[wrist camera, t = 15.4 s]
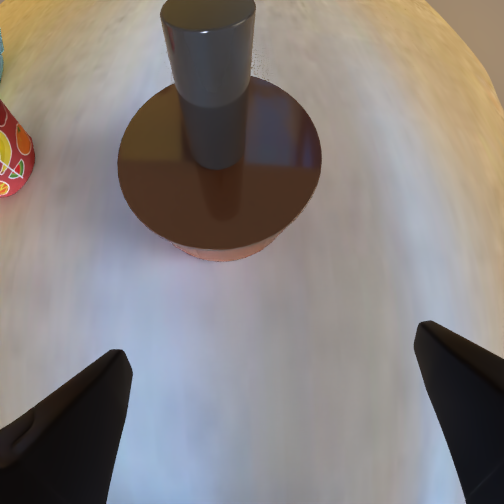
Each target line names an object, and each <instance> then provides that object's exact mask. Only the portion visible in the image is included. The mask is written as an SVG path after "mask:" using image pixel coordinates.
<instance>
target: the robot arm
mask: <svg viewBox="0 0 504 504" xmlns="http://www.w3.org/2000/svg"><path fill="white" fill-rule="evenodd" d="M414 351H415V354H416V357H417V361H418V364H419V367H420V370H421V374H422V377H423V380H424V384H425V387H426V390H427V393H428V395H429V398H430V400H431V403H432V405H433V408H434V410H435V413H436V415H437V418H438V420H439V423H440V426H441V428H442V431H443V434H444V436H445V439H446V442H447V445H448V447H449V450H450V453H451V456H452V459H453V462H454V465H455V468H456V471H457V474H458V477H459V480H460V483H461V487H462V490H463V493H464V497H465V499H466V500H465V501H466V504H504V359H502V358H501V357H499V356H497V355H495V354H493V353H491V352H490V351H488V350H486V349H484V348H482V347H480V346H479V345H477V344H475V343H473V342H471V341H469V340H467V339H466V338H464V337H462V336H460V335H458V334H456V333H454V332H452V331H451V330H449V329H447V328H445V327H443V326H441V325H439V324H437V323H435V322H434V321H431V320H430V321H424V322H421V323H419V325H418V327H417V332H416V336H415V341H414ZM132 377H133V371H132V368H131V365H130V363H129V361H128V359H127V356H126V354H125V352H124V351H123V350H121V349H112V350H109V351H108V352H107V353H105V354H104V355H103V356H101V357H100V358H99V359H97V360H96V361H95V362H93V363H92V364H90V365H89V366H88V367H86V368H85V369H84V370H82V371H81V372H80V373H78V374H77V375H76V376H74V377H73V378H72V379H70V380H69V381H68V382H66V383H65V384H64V385H62V386H61V387H60V388H58V389H57V390H55V391H54V392H53V393H51V394H50V395H49V396H47V397H46V398H45V399H43V400H42V401H41V402H39V403H38V404H37V405H35V408H34V407H33V408H31V409H30V410H29V411H27V412H26V413H25V414H23V415H22V416H20V417H19V418H18V419H16V420H15V421H13V422H12V423H10V424H9V425H7V426H6V427H4V428H2V429H1V430H0V504H106V501H107V496H108V491H109V486H110V482H111V477H112V473H113V468H114V464H115V459H116V455H117V451H118V447H119V443H120V439H121V435H122V431H123V427H124V423H125V419H126V415H127V409H128V402H129V395H130V389H131V383H132Z"/></svg>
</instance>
